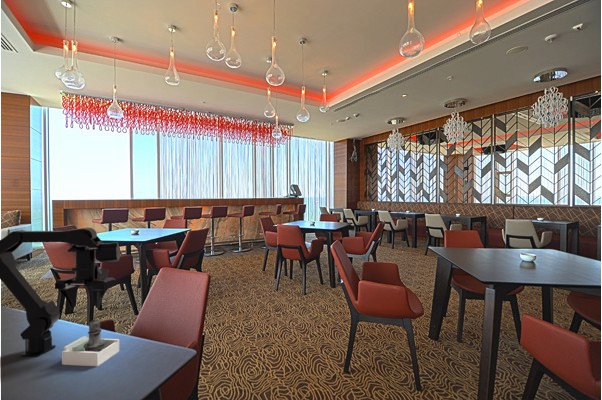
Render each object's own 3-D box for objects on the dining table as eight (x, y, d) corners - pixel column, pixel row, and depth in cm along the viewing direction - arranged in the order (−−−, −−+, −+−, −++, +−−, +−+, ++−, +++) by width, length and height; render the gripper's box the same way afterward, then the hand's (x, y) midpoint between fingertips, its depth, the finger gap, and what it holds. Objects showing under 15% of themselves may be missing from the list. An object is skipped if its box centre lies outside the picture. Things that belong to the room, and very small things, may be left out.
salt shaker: (98, 359, 90) (98, 320, 90) (78, 359, 89) (78, 321, 89) (109, 349, 96) (109, 313, 96) (91, 350, 95) (91, 313, 95)
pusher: (72, 358, 90) (72, 347, 90) (89, 348, 96) (89, 337, 96) (75, 359, 90) (75, 347, 90) (92, 348, 96) (92, 337, 96)
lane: (62, 364, 89) (61, 348, 89) (86, 349, 98) (86, 334, 98) (97, 366, 87) (97, 349, 88) (119, 351, 96) (119, 336, 96)
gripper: (126, 258, 109) (126, 300, 109) (81, 258, 111) (81, 299, 111) (102, 265, 98) (103, 311, 98) (53, 265, 100) (53, 310, 100)
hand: (85, 307), depth 102 cm, fingers open, 9 cm apart
